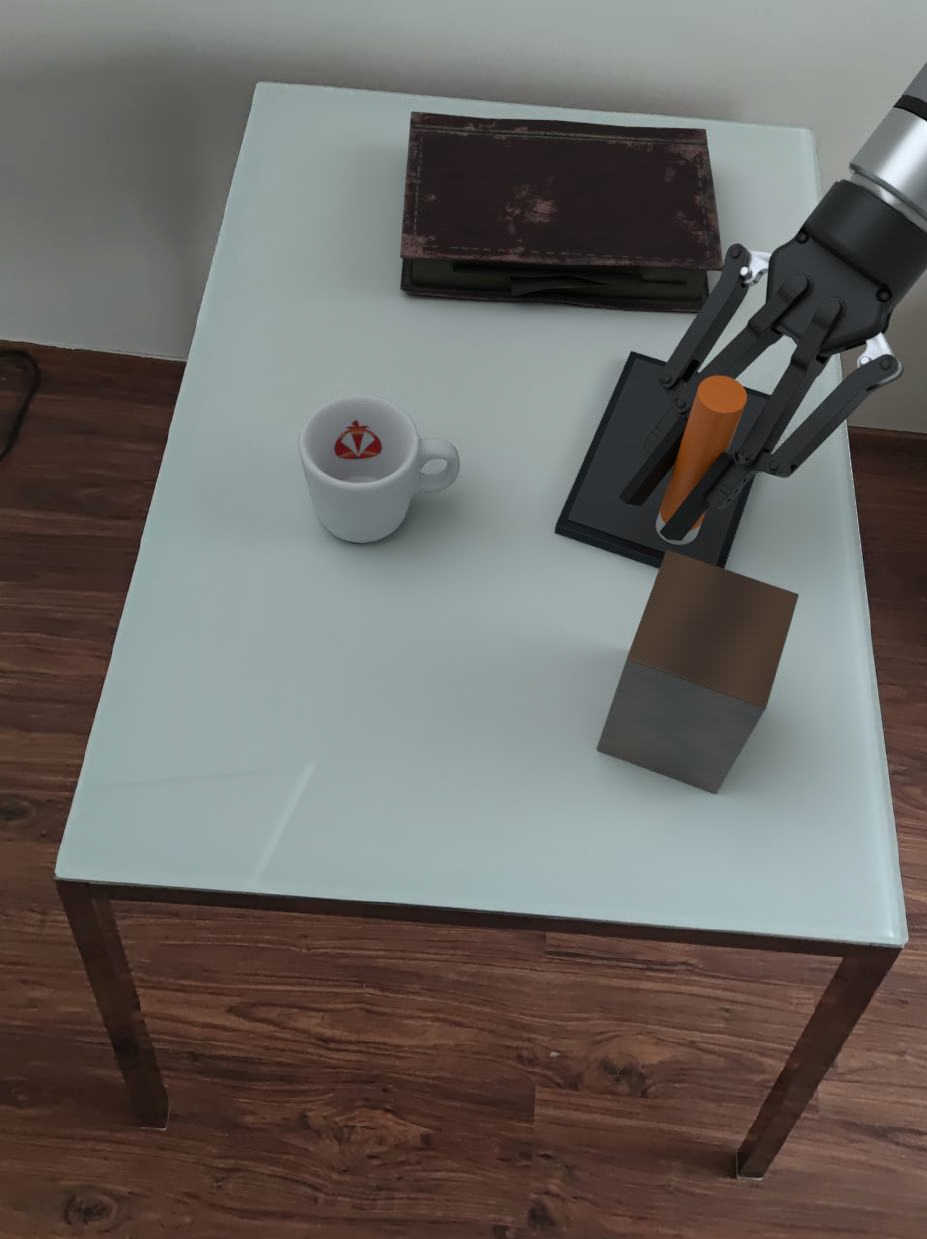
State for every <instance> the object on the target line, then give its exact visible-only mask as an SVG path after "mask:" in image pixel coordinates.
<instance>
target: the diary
mask: <svg viewBox="0 0 927 1239" xmlns="http://www.w3.org/2000/svg"><path fill="white" fill-rule="evenodd" d="M708 144H709V143H708V133H707V129H706V128H697V127H696V128H695V127H664V126H662V127H660V126H631V125H630V126H629V125H628V126H627V125H616V124H605V123H593V122H582V121H570V120H559V119H533V118H530V119H529V118H495V117H492V118H491V117H478V116H477V117H476V116H466V115H457V114H448V113H447V114H446V113H435V112H425V111H411V112H410V120H409V132H408V144H407V146H408V147H407V157H406V158H407V159H406V168H405V170H406V171H405V183H404V184H405V185H404V195H403V196H404V197H403V209H402V211H403V212H402V225H401V237H400V238H401V239H400V251H399V252H400V254H399V258H400V259H402V262H401V273H400V274H401V275H400V276H401V277H400V286H399V289H400V290H401V291H403V292H406V293H409V294H412V295H422V296H431V297H432V296H433V297H443V298H454V299H455V298H457V299H465V300H466V299H468V300H477V301H478V300H479V301H480V300H481V301H522V302H523V301H525V302H526V301H529V302H556V303H557V302H558V303H563V304H570V305H572V304H573V305H581V306H587V307H588V306H589V307H596V308H605V309H613V310H621V311H638V312H639V311H642V312H643V311H644V312H645V311H646V312H697V313H698V312H699V311H700V309H701V308H702V306H703V305H704V303H705V301H706V300H707V298H708V297H709V295H710V284H709V276H708V271H710V272H722V269H723V265H724V260H723V252H722V244H721V243H722V242H721V234H720V225H719V216H718V208H717V199H716V191H715V185H714V178H713V170H712V164H711V158H710V150H709V145H708Z"/></svg>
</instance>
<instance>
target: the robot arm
mask: <svg viewBox="0 0 927 1239" xmlns="http://www.w3.org/2000/svg"><path fill="white" fill-rule="evenodd" d="M848 171H849V173H850V174H851V176H850V178H849V179H848V180H847V179H846V178H845V179H843V178H842V179H840V180H839V181H836V180H835V181H834V182H833V184H832V185H831V187H830V188H829V189H828V190H827V192H826V193H825V194H824V196H823V197H822V198H821V200H820V201H819V202H818V204H817V205H816V206H815V208H813V210H812V211H811V213H810V214H809V215H808V217H807V218H806V219H805V221H804V222H803V224H802V225H801V226H800V228H799V229H798V231H797V233H796V234H795V235H794V236H793V237H792V238H791V239H790V240H788V241H787V242H785V243H783V244H781V245H779V246H778V247H776V248H775V249H774V250H773V251H772V252H767V251H759V250H753V249H749V248H746V246H744V245H743V244H741V243H739V242H737V243H733V244H731V245H730V246H729V247H728V248H727V251H726V253H725V257H724V260H723V269H722V271H720V272H721V273H720V276H719V279H718V281H717V282H716V284H715V285H714V287H713V288H712V290H711V292H709V294H710V295H709V297H708V298H707V300H706V301H705V303H704V305H703V306H702V308H701V309H700V311H699V312H698V311H697V313H696V315H695V317H694V319H693V320H692V322H691V324H689V327H688V328H687V330H686V331H685V333H684V335H683V336H682V338H681V339H680V341H679V342H678V344H677V345H676V346H675V347H676V348H675V349H674V350H673V352H672V353H671V355H670V357H669V358H668V360H667V361H666V362H667V363H666V365H665V366H664V368H663V369H662V371H661V372H660V374H659V377H658V382H659V384H660V385H661V386H662V387H663V388H664V390H665V391H666V393H667V395H668V397H669V399H670V407H669V409H668V411H667V412H666V413H665V415H664V416H663V417H662V419H661V420H660V421H659V423H658V424H657V425H656V427H655V428H654V429H653V430H652V432H651V433H650V434H649V436H648V437H647V438H646V440H645V442H644V446H643V448H644V449H645V450H646V451H647V452H648V453H650V454H651V455H650V456H649V458H648V459H647V460H646V462H645V463H644V464H643V465H642V467H641V468H640V469H639V471H638V472H637V473H636V475H635V476H634V477H633V478H632V480H631V481H630V482H629V484H628V485H627V486H626V488H625V489H624V490H623V491H622V493H621V494H620V495H619V498H620V499H621V500H622V501H624V502H625V503H626V504H630V505H637V506H642V505H643V504H644V502H645V501H646V500H647V499H648V497H649V496H650V495H651V493H652V492H653V491H654V490H655V488H656V487H657V486H658V484H659V483H660V482H661V481H662V479H663V478H664V477H665V475H666V474H667V473H668V472H669V470H670V469H671V468H672V466H673V465H674V464H675V460H676V457H677V454H678V451H679V448H680V444H681V441H682V438H683V435H684V432H685V428H686V425H687V422H688V419H689V416H690V413H691V409H692V406H693V403H694V400H695V397H696V393H697V390H698V387H699V385H700V383H701V382H702V381H703V380H705V379H706V378H708V377H711V376H727V377H730V378H732V379H735V380H736V379H738V378H739V376H740V375H742V374H743V372H745V371H746V369H748V367H750V366H751V365H752V364H753V363H754V362H755V361H756V360H757V359H758V357H760V356H761V355H762V354H763V353H764V352H765V351H766V350H767V349H768V348H769V347H770V346H773V345H774V344H777V343H778V342H779V341H780V340H781V339H782V338H783V337H784V336H785V337H788V338H790V339H791V340H792V341H793V342H794V344H795V345H796V347H795V349H794V351H793V352H792V354H791V356H790V360H789V361H790V362H789V364H788V365H787V367H786V369H785V371H784V372H783V374H782V375H781V377H780V379H779V381H778V382H777V385H776V386H775V388H774V390H773V391H772V393H771V394H770V395H771V396H770V398H769V400H768V401H767V403H766V405H765V406H764V408H763V410H762V411H761V413H760V415H759V417H758V418H757V420H756V422H755V423H754V425H753V427H752V428H751V430H750V432H749V434H748V435H747V437H746V439H745V440H744V442H743V444H742V445H741V447H740V449H739V451H734V453H733V455H731V454H728V453H724V452H722V453H721V455H720V456H719V457H718V459H717V460H716V461H715V462H714V464H713V465H712V466H711V467H710V469H709V470H708V471H707V472H706V474H705V475H704V476H703V477H702V479H701V480H700V481H699V482H698V484H697V485H696V486H695V488H694V489H693V490H692V491H691V493H690V494H689V495H688V496H687V498H686V499H685V500H684V501H683V503H682V504H681V505H680V506H679V508H678V509H677V510H676V511H675V513H674V514H673V515H672V517H671V518H670V519H669V520H668V522H667V523H666V524H665V525H664V527H663V528H662V529H661V530H660V532H659V533H660V534H661V535H662V536H664V537H665V538H666V539H667V540H676V541H682V540H683V538H684V537H685V536H686V535H687V533H688V532H689V531H690V530H691V528H692V527H693V526H694V525H695V523H696V522H697V521H698V520H699V518H700V517H701V516H702V515H703V514H704V512H705V511H706V510H707V509H708V507H709V506H710V505H711V506H712V507H714V508H715V509H721V510H722V509H723V508H725V507H727V506H729V504H730V503H731V502H732V501H733V499H734V498H735V497H736V496H737V495H738V493H739V492H740V491H741V490H742V488H743V487H744V486H745V485H746V483H747V482H748V481H749V480H750V478H751V477H752V476H753V475H754V474H758V473H764V474H767V475H770V476H774V477H777V478H781V479H787V478H789V477H791V476H792V475H793V474H794V473H795V472H796V471H797V470H798V469H799V468H800V467H801V466H802V465H803V464H804V463H805V462H806V461H807V459H809V458H810V457H811V456H812V455H813V454H814V453H815V451H816V450H818V448H819V447H820V446H821V445H822V444H823V443H825V442H826V440H827V439H828V438H829V437H830V436H831V435H832V434H833V433H834V432H835V431H836V430H837V429H838V428H839V427H840V426H841V425H842V424H843V422H845V421H846V420H847V419H848V418H849V417H850V415H852V414H853V413H854V412H855V410H856V409H858V407H859V406H860V405H861V404H862V403H863V402H864V401H865V400H866V399H867V398H868V397H869V396H870V395H871V394H873V393H874V392H876V391H878V390H879V389H881V388H884V387H886V386H887V385H889V384H891V383H893V382H895V381H897V380H899V379H901V377H902V376H903V374H904V372H905V368H904V367H905V366H904V364H903V363H902V362H901V361H900V360H899V359H897V358H896V356H895V355H894V352H893V350H892V348H891V346H890V344H889V343H888V340H887V338H886V335H885V334H886V333H887V332H888V329H889V326H890V321H891V317H892V314H893V312H894V311H895V309H896V307H897V306H898V305H899V304H900V303H901V302H902V300H903V299H904V298H905V296H906V295H907V294H908V293H909V292H910V290H912V288H913V287H914V285H915V284H916V283H917V282H918V281H919V280H920V278H921V277H922V276H923V274H924V273H925V272H926V271H927V61H925V63H924V64H923V66H922V67H921V69H920V70H919V71H918V73H917V74H916V76H915V77H914V78H913V79H912V80H911V82H910V83H909V84H908V86H907V87H906V89H905V90H904V91H903V92H902V94H901V96H900V97H899V98H898V99H897V101H896V102H895V104H894V105H893V106H892V108H891V109H890V110H889V111H888V112H887V114H886V115H885V116H884V118H883V119H882V120H881V122H879V124H878V125H877V126H876V127H875V129H874V131H873V132H872V133H871V134H870V135H869V137H867V139H866V141H865V142H864V143H863V144H862V146H861V147H860V148H859V149H858V151H857V152H856V153H855V154H854V156H853V157H852V159H851V160H850V161H849V162H848ZM765 274H767V278H766V290H765V302H764V304H763V305H762V306H761V307H760V308H759V309H758V310H757V311H756V312H755V313H754V314H753V315H752V316H751V317H750V318H749V320H747V323H746V326H745V327H743V329H742V330H741V331H740V332H738V334H737V335H736V336H734V337H733V339H732V340H731V341H729V342H728V343H727V344H726V345H725V347H724V348H722V349H721V350H720V352H718V353H717V354H716V355H715V357H713V359H712V360H710V361H709V362H708V363H707V365H705V366H704V368H703V369H701V367H702V365H703V364H704V362H705V360H707V358H708V356H709V355H710V353H711V352H712V350H713V349H714V347H715V345H717V344H716V343H717V342H718V340H719V339H720V337H721V336H722V334H723V333H724V332H725V330H726V328H727V327H728V325H729V323H730V322H731V320H732V319H733V318H734V316H735V314H736V312H737V311H738V309H739V308H740V306H741V304H742V303H743V301H744V300H745V298H746V297H747V294H748V292H749V289H750V288H751V287H755V286H757V285H758V284H759V282H760V281H761V278H762V277H763V276H764V275H765ZM862 346H866V347H865V350H864V352H863V353H862V354H860V355H859V357H857V360H856V367H857V368H856V369H855V370H853V371H852V372H851V373H849V374H848V375H847V376H846V377H845V378H844V379H843V380H841V382H839V384H838V385H837V386H836V387H835V388H834V389H833V390H832V391H831V392H830V393H829V394H828V396H826V398H824V399H823V401H822V402H821V403H820V404H819V405H818V406H817V407H816V408H815V409H814V410H812V412H811V413H810V414H809V415H808V416H807V417H806V418H805V419H804V420H803V421H802V422H801V424H799V425H798V427H796V429H795V430H794V431H793V432H792V433H791V434H790V435H789V436H787V438H785V440H784V441H783V442H782V443H781V444H780V445H779V446H778V448H776V446H777V444H778V442H780V439H781V437H783V435H784V433H785V431H786V429H787V428H788V426H789V425H790V423H791V421H792V419H793V418H794V416H795V414H796V413H797V411H798V409H799V407H800V406H801V404H802V403H803V401H804V399H805V397H806V396H807V394H808V393H809V391H810V390H811V387H813V384H814V383H815V381H816V379H817V378H818V377H819V376H820V375H822V373H823V372H824V370H825V369H826V367H827V365H828V364H829V361H830V360H831V359H832V356H835V355H837V354H838V355H839V354H841V353H844V352H847V351H849V350H853V349H856V348H858V347H862ZM700 369H701V370H700ZM697 372H700V373H699V374H698V375H697V376H696V377H695V378H694V376H695V375H696V373H697ZM775 448H776V449H775ZM774 449H775V451H774ZM773 451H774V452H773Z"/></svg>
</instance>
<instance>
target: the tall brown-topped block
mask: <svg viewBox="0 0 927 1239" xmlns="http://www.w3.org/2000/svg"><path fill="white" fill-rule="evenodd" d="M799 598H800V595H799V593H797V592H793V591H791V590H788V589H785V588H781V587H780V586H776V585H773V584H770V583H767V582H765V581H760V580H759V579H758V580H757V579H755V578H752V577H750V576H747V575H744V574H741V573H738V572H735V571H732V570H729V569H726V568H724V569H723V568H720V567H717V566H714V565H711V564H708V563H705V562H703V561H700V560H697V559H694V558H691V557H688V556H685V555H682V554H679V553H676V552H673V551H670V550H666V553H665V555H664V558H663V561H662V563H661V566H660V569H659V568H658V571H657V574H656V577H655V580H654V582H653V585H652V588H651V591H650V594H649V597H648V599H647V601H646V605H645V607H644V610H643V613H642V615H641V618H640V620H639V624H638V627H637V629H636V632H635V634H634V637H633V640H632V643H631V645H630V649H629V651H628V653H627V657H626V659H625V662H624V665H623V668H622V672H621V674H620V677H619V680H618V683H617V686H616V689H615V692H614V694H613V698H612V700H611V703H610V706H609V710H608V713H607V716H606V718H605V722H604V725H603V728H602V731H601V734H600V736H599V740H598V743H597V746H596V751H598V752H601V753H604V754H606V755H609V756H611V757H615V758H616V759H620V760H623V761H625V762H628V763H630V764H633V765H636V766H638V767H641V768H643V769H646V770H649V771H652V772H655V773H657V774H661V775H663V776H666V777H669V778H671V779H674V780H676V781H679V782H681V783H684V784H687V785H690V786H693V787H694V788H695V787H696V788H698V789H701V790H703V791H706V792H709V793H711V794H714V795H717V794H718V792H719V791H720V789H721V787H722V786H723V784H724V782H725V780H726V779H727V777H728V775H729V773H730V772H731V770H732V769H733V766H734V765H735V763H736V762H737V760H738V758H739V757H740V754H741V753H742V752H743V749H744V747H745V746H746V744H747V743H748V741H749V739H750V737H751V735H752V733H753V732H754V730H755V728H756V726H757V724H758V723H759V721H760V720H761V718H762V716H763V714H764V713H765V711H766V709H767V708H768V703H769V699H770V697H771V693H772V690H773V686H774V682H775V679H776V676H777V672H778V668H779V665H780V663H781V659H782V655H783V651H784V649H785V645H786V641H787V637H788V635H789V632H790V631H789V630H790V628H791V623H792V620H793V617H794V613H795V610H796V606H797V604H798V600H799Z"/></svg>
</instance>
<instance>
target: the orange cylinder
mask: <svg viewBox="0 0 927 1239" xmlns="http://www.w3.org/2000/svg"><path fill="white" fill-rule="evenodd" d="M743 386H744V385H742V384H741V383H740V382H739V381H738V380H736V379H732V378H730V377H727V376H711V377H708V378H706V379H705V380H703V381H702V382H701V383H700V385H699V387H698V390H697V393H696V397H695V400H694V403H693V406H692V409H691V413H690V416H689V419H688V422H687V425H686V428H685V432H684V435H683V438H682V441H681V444H680V448H679V451H678V454H677V457H676V460H675V464H674V467H673V470H672V473H671V476H670V480H669V483H668V486H667V489H666V492H665V495H664V499H663V502H662V505H661V508H660V511H659V515H658V518H657V521H656V529H657V532H658V534H659V535H660V537H661V538H662V539H664V540H665V541H667V542H669V543H671V544H675V545H684V544H687V543H690V542H691V541H693V540H694V539H695V538H696V536H697V534H698V531H699V529H700V526H701V523H702V521H703V518H704V515H705V512H706V511H705V512H704V514H703V515H702V516H701V517H700V518H699V520H698V521H697V522H696V523H695V525H694V526H693V527H692V528H691V530H690V531H689V532H688V533H687V535H686V536H685V537H684V538H683V540H682V541H676V540H667V539H666V538H665V537H664V536H662V535H661V534H660V533H659V532H660V530H661V529H662V528H663V527H664V525H665V524H666V523H667V522H668V520H669V519H670V518H671V517H672V515H673V514H674V513H675V511H676V510H677V509H678V508H679V506H680V505H681V504H682V503H683V501H684V500H685V499H686V498H687V496H688V495H689V494H690V493H691V491H692V490H693V489H694V488H695V486H696V485H697V484H698V482H699V481H700V480H701V479H702V477H703V476H704V475H705V474H706V472H707V471H708V470H709V469H710V467H711V466H712V465H713V464H714V462H715V461H716V460H717V459H718V457H719V456H720V455H721V453H722V452H724V453H728V450H729V447H730V445H731V442H732V439H733V436H734V434H735V431H736V428H737V426H738V423H739V420H740V417H741V415H742V412H743V409H744V407H745V404H746V401H747V394H746V391H745V389H744V387H745V386H744V387H743Z"/></svg>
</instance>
